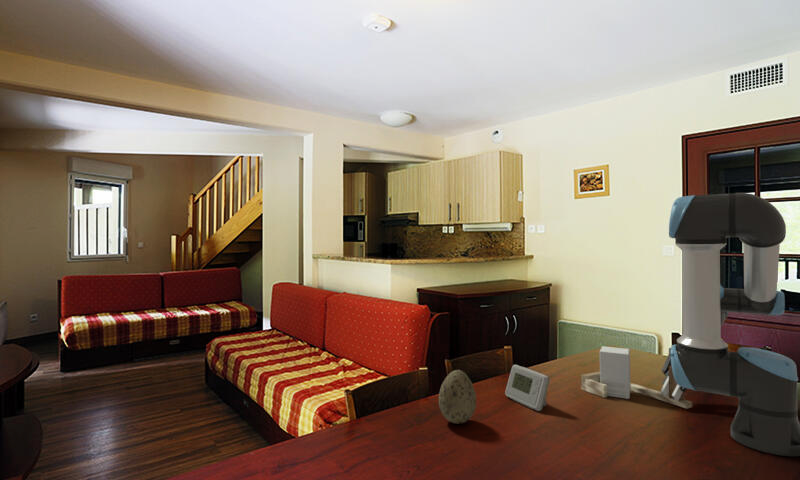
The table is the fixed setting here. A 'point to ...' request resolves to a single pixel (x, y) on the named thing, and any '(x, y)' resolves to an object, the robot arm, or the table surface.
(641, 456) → the table surface
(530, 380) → the digital clock
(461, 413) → the decorative egg
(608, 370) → the supplement box
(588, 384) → the hooked slat
